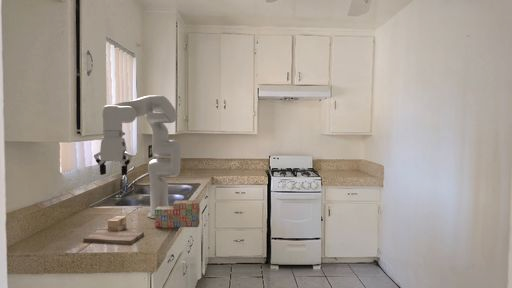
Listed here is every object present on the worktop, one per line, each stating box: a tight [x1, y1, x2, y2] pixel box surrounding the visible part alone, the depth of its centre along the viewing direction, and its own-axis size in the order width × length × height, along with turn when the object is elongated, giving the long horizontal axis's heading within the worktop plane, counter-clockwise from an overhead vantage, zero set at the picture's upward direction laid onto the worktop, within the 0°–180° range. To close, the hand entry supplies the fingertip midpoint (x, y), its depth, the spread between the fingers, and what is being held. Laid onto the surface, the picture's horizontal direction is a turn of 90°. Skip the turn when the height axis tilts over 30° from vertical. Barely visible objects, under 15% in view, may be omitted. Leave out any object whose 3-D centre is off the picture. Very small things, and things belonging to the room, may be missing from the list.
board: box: [82, 229, 145, 245], centre depth 155 cm, size 12×22×2 cm, turn 82°
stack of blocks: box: [154, 199, 201, 228], centre depth 174 cm, size 21×6×12 cm, turn 92°
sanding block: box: [107, 215, 127, 231], centre depth 166 cm, size 8×5×6 cm, turn 172°
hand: (113, 174), depth 148 cm, fingers open, 9 cm apart
